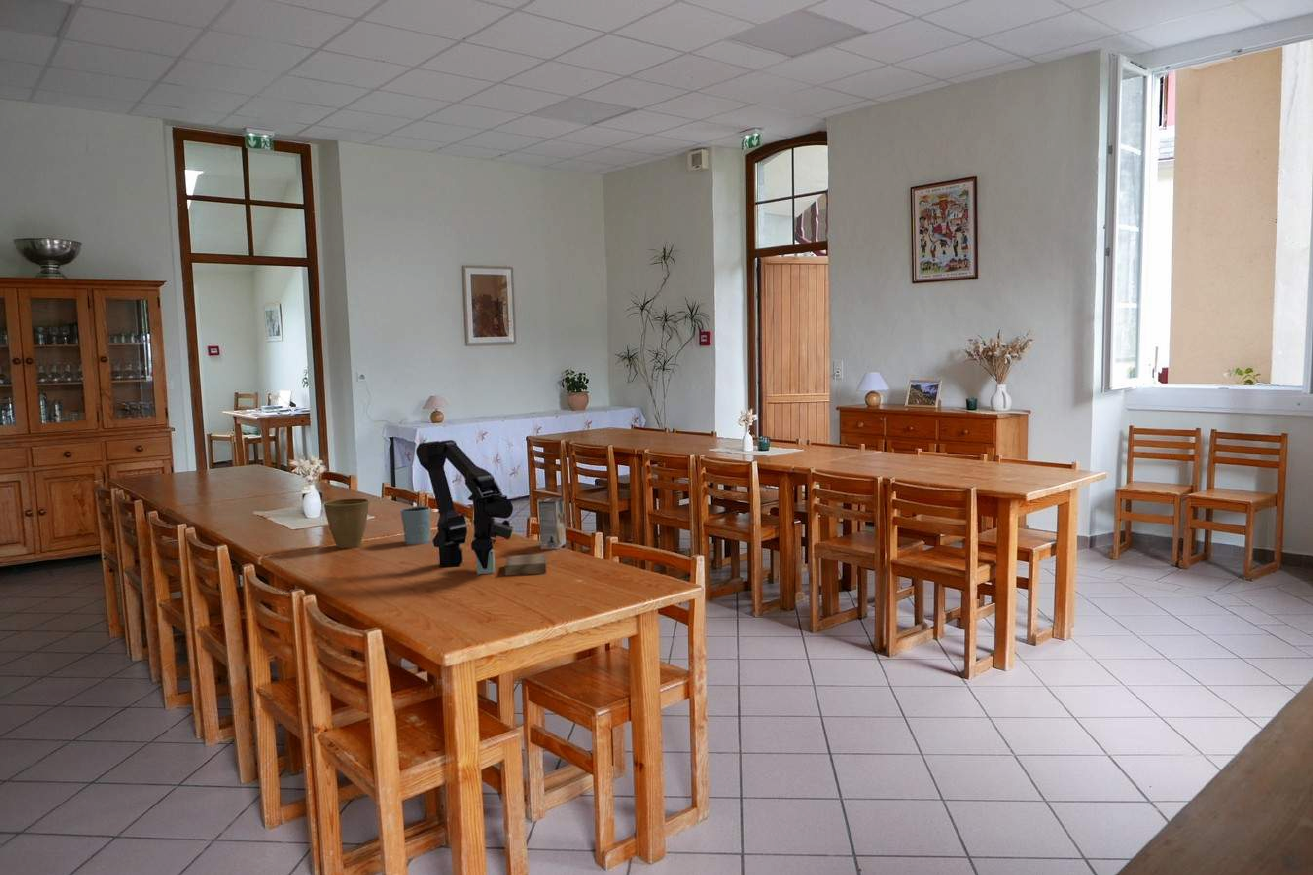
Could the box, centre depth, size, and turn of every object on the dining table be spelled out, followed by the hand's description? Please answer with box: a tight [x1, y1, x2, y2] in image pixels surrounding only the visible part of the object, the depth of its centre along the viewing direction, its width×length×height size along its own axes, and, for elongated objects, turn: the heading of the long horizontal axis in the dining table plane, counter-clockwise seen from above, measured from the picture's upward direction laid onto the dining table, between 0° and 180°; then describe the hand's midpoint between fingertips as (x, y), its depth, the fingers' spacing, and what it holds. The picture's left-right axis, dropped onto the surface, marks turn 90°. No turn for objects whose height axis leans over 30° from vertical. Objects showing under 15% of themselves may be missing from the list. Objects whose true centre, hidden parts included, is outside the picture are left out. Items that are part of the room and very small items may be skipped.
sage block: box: [475, 549, 496, 575], centre depth 263 cm, size 5×5×6 cm
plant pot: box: [323, 497, 370, 549], centre depth 305 cm, size 15×15×16 cm
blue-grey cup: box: [400, 506, 431, 546], centre depth 309 cm, size 10×10×12 cm
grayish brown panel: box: [504, 553, 548, 576], centre depth 265 cm, size 12×12×3 cm
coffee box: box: [537, 496, 567, 550], centre depth 295 cm, size 9×6×16 cm
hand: (485, 566), depth 263 cm, fingers closed on sage block, 5 cm apart
